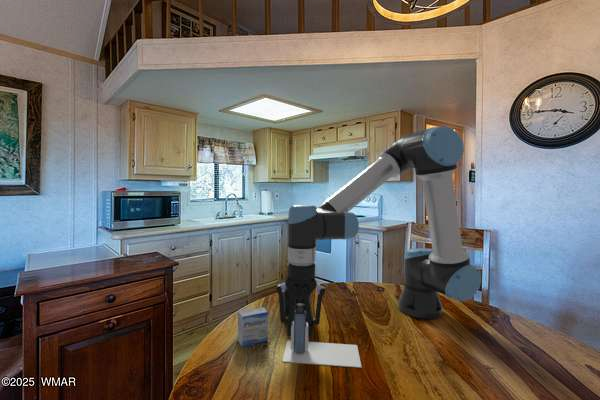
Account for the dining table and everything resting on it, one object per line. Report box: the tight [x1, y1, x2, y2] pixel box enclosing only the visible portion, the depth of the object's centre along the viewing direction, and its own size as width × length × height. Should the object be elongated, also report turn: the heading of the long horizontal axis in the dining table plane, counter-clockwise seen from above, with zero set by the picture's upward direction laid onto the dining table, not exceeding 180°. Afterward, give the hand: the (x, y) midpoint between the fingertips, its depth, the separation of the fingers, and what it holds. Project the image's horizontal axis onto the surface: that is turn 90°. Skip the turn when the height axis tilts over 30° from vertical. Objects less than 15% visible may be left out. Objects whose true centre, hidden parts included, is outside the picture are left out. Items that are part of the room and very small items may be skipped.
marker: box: [294, 303, 307, 354], centre depth 77 cm, size 3×3×12 cm
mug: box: [280, 278, 312, 322], centre depth 96 cm, size 11×15×12 cm
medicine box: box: [237, 306, 269, 348], centre depth 82 cm, size 8×4×9 cm, turn 117°
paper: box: [282, 339, 363, 369], centre depth 77 cm, size 20×10×1 cm, turn 85°
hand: (299, 347), depth 77 cm, fingers closed on marker, 3 cm apart
